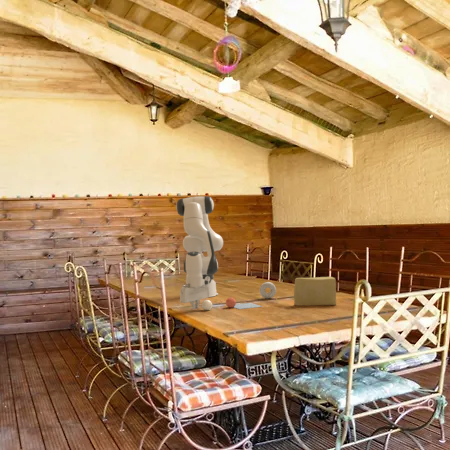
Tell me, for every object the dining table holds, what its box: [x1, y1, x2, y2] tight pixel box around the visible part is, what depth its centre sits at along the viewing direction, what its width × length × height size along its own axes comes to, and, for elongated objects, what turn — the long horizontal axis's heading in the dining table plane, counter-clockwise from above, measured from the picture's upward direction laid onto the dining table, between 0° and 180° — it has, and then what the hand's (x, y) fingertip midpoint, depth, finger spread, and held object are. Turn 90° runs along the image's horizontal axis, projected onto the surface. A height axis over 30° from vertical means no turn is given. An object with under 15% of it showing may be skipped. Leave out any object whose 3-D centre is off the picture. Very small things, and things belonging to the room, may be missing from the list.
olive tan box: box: [293, 276, 337, 306], centre depth 280 cm, size 22×10×15 cm, turn 92°
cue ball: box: [201, 299, 213, 311], centre depth 272 cm, size 6×6×6 cm
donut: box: [259, 281, 277, 299], centre depth 306 cm, size 10×4×10 cm, turn 90°
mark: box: [233, 302, 263, 310], centre depth 281 cm, size 14×14×1 cm
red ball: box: [225, 297, 237, 309], centre depth 278 cm, size 6×6×6 cm
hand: (195, 308), depth 270 cm, fingers closed
